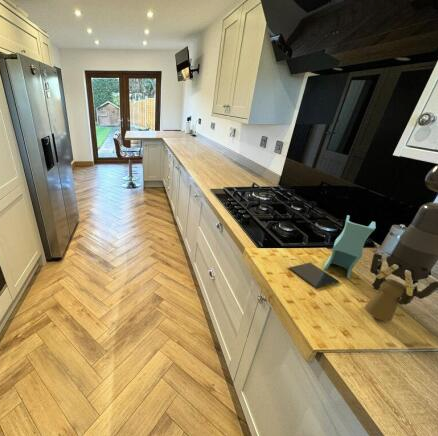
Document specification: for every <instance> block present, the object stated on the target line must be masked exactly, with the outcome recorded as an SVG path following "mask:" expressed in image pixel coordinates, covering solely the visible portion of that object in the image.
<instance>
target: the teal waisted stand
mask: <svg viewBox="0 0 438 436" xmlns="http://www.w3.org/2000/svg"><path fill="white" fill-rule="evenodd" d="M350 217H351V216H350V215H348V214H347V215H346V219H345V224H344V227H343V230H342V231H341V232H340V234H339V235H338V236H337V238H336V239H335V240H334V244H333V247H332V251H331V254H330V255H329V257H328V259H326V261H325V264H324V267H323V270H325V271H327V269H328V268H329V267H330V265H331V264H334V265H337V266H339V267H342V268H344V269H345V270H347V272H346V279H351V275H352V271H353V269H354V267H355V266H356V264H357V263H358V262H359V261H360V260H361V259H362V257H363V251H364V246H365V243H366V241H367V239H368V238H369V237H370V235H371V234H372V233H373V232H375V229H376V228H377V227H376V226H377V225H376V221H373V220H372V221H371V223H370V224H369V225H368V226H366V225H363V224H359V223H356V222H352V221H350Z"/></svg>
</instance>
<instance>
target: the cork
mask: <svg viewBox="0 0 438 436" xmlns="http://www.w3.org/2000/svg"><path fill="white" fill-rule="evenodd" d="M385 279H386V280H384V281H382V283H381V286H380V287H381V288H380V289H379V290H377V292H376V293H375V294H374V295H373V296H372V298H370V299H369V301H368V302H367V303H366V304H365V305H364V309H365V311H366V312H367V313H368V314H369V315H370V316H371V317H373V318H375V319H379V320H380V321H385V322H391V321H393V318H394V316H395V313H396V311H397V308H398V306H399V303H398V302H399V301H400V299H401V298H402V296H403V295H404V293H406V286H405V283H402V282H400V281H398V280H397V279H389V278H385Z"/></svg>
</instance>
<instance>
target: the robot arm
mask: <svg viewBox="0 0 438 436" xmlns="http://www.w3.org/2000/svg"><path fill="white" fill-rule="evenodd" d="M424 184H425V187H426V188H427V189H429V190H431V191H433V192H436V193H438V164H436V165H434V166H433V167H432V168H431V169H430V170H429V171H428V172H427V174H426V175H425V178H424ZM385 261H386V263H387V268H385V269H384V270H382V266H383V262H385ZM437 262H438V202H425V203H423V204H422V205H421V206H420V207H419V209H418V211H417V212H416V214H415V215H414V217H413V219H412V220H411V223H410V224H409V225H408V226H407V228H405V230H404V232H403V233H402V234H401V235H400V237H399V240H398V241H397V244H396V245H395V247H394V248H393V251H392V252H391V254H389V255H387V254H385V253H384V252H376V253H374V254H373V256H372V261H371V264H370V270H369V271H370V273H371V274H374V275H375V277H376V278H374V281H373V282H372V287H373V290H374V291H379V290H380V289H381V287H380V286H381V283H382V281H384V280H386V279H387V277H389V276H391V275H393V276H395V277H398V278H400V279H401V280H403V282H404V285H405V286H406V293H404V295H403V296H402V297H401V298H400V300H399V302H398V305H401V306H403V305H404V306H406V305H408V304H410V303H412V301H413V299H414V298H417V299H421V300H422V299H425V298H427V297H430V296H431V295H432V294H433V293H435V292H436V291H438V278H436V277H435V276H433V275H432V270H433V268H434V267H435V265H436V264H437ZM424 279H426V285H427V286H426V287H424V288H423V289H422V290H419V286H420V280H424Z"/></svg>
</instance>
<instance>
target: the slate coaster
mask: <svg viewBox="0 0 438 436" xmlns="http://www.w3.org/2000/svg"><path fill="white" fill-rule="evenodd" d="M288 270H289V271H291V272H292V273H294V274H295V275H296V276H298V277H299V278H301V280H304V282H306V284H309V285H310V286H311V287H313V288H314V289H319V288H323V287H327V286H329V285H330V286H331V285H334V284H338V283H339V282H340V280H339V279H337V278H336V277H334V276H332V275H331V274H329V273H328V272H326V271H324V269H321V268H320V267H318V266H317V265H316V264H314V263H313V262H306V263H303V264H302V263H301V264H298V265H294V266H290V267H288Z"/></svg>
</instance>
